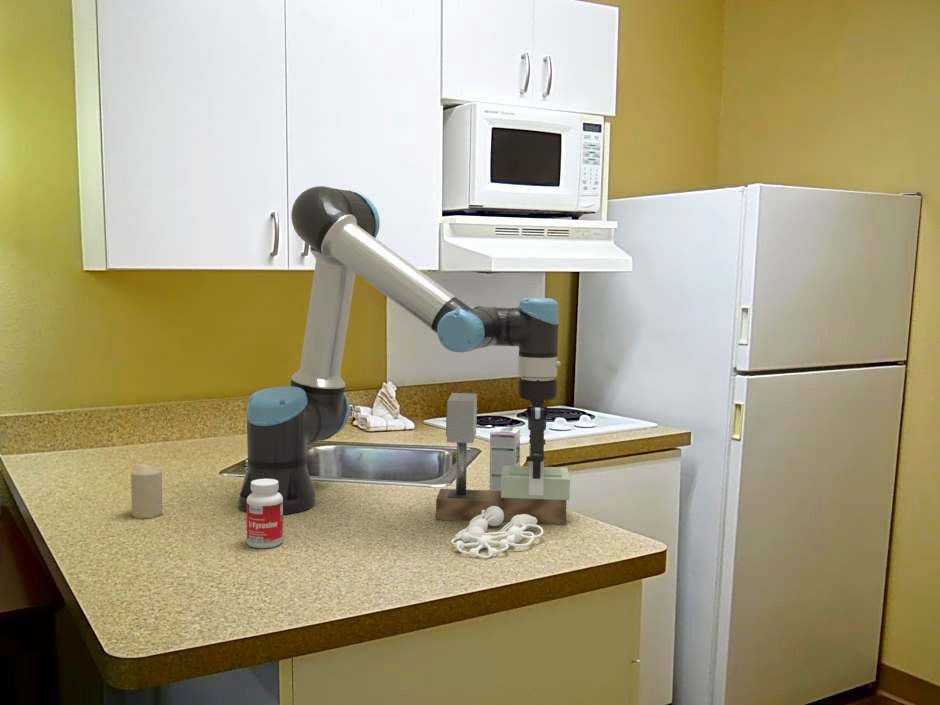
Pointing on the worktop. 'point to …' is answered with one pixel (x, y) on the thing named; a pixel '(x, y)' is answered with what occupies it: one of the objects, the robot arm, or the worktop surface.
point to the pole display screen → (461, 431)
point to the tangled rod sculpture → (494, 518)
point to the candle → (146, 491)
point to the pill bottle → (264, 514)
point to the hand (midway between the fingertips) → (535, 485)
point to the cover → (518, 483)
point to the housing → (478, 500)
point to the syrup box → (503, 453)
